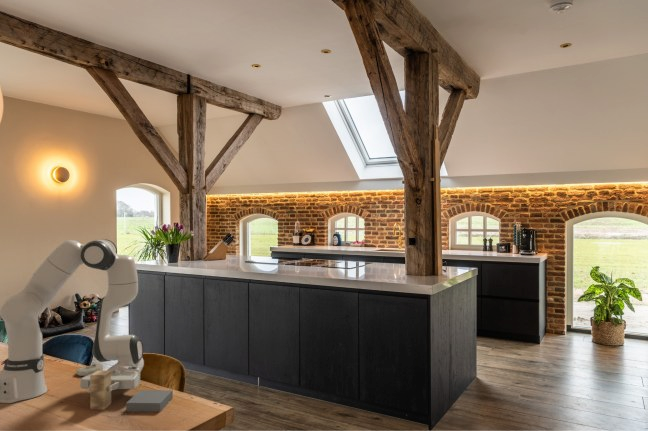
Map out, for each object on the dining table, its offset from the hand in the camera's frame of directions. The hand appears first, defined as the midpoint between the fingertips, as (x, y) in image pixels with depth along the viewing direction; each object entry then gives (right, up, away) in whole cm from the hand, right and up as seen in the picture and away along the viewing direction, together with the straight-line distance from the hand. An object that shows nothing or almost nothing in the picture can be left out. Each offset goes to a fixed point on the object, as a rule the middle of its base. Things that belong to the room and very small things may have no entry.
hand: (99, 389), depth 166 cm
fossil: (-22, -7, +37) cm, 44 cm away
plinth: (+17, -7, +2) cm, 18 cm away
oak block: (0, -7, +1) cm, 7 cm away
